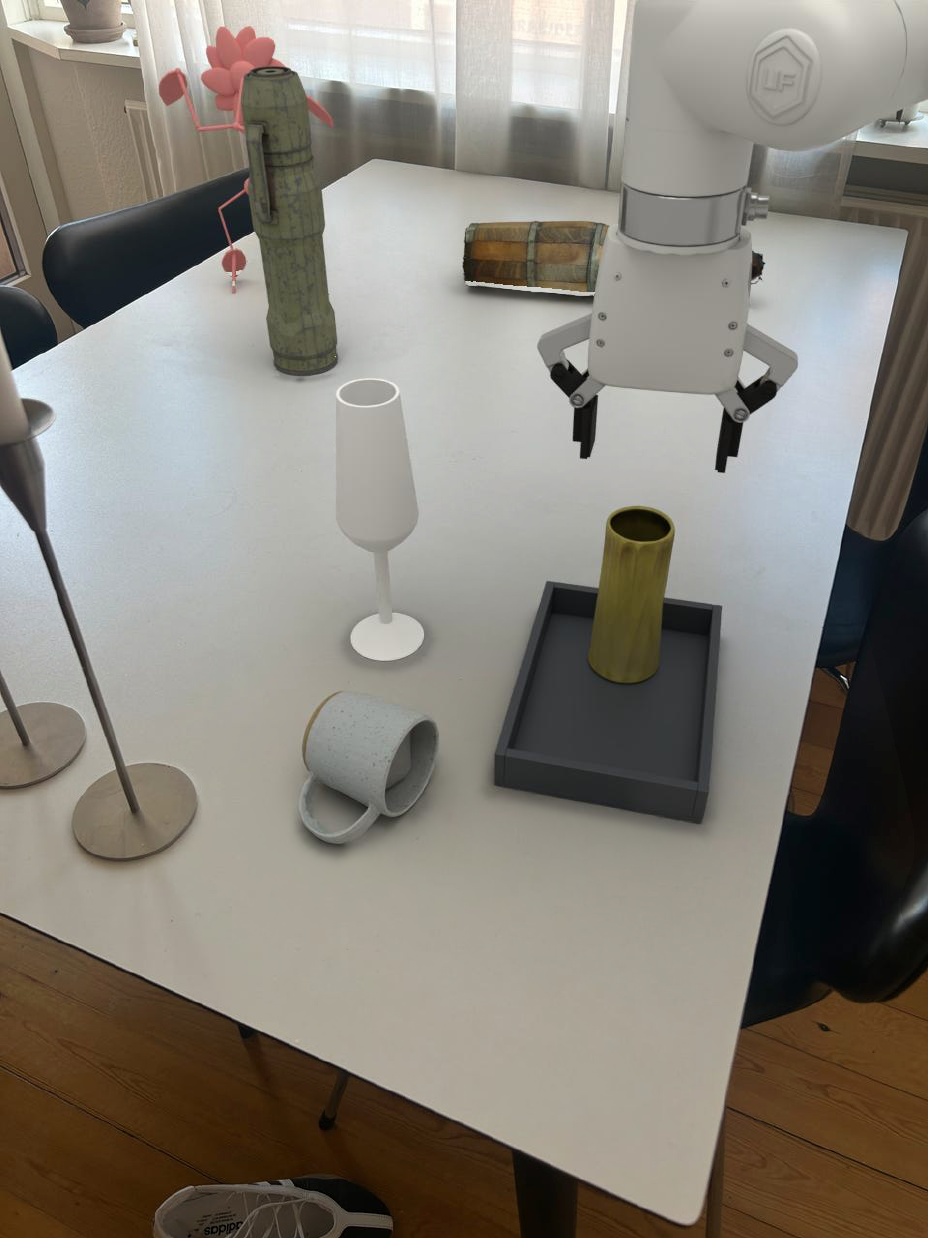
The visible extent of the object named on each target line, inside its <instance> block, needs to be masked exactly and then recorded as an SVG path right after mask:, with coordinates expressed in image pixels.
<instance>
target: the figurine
mask: <svg viewBox="0 0 928 1238" xmlns="http://www.w3.org/2000/svg"><path fill="white" fill-rule="evenodd" d="M275 50H276V43H275V41H274V39H272V38H270V37H268V36H260V37H257V36H256V31H255V28H253V27H252V26H251V25H249V26H244V27H243V28H242V29H241V30H239V32H238V33H237V35H236V36H234V35H233V34H232V33H231V31H230V30H229V29H228V28H227V27H226V26H219V27H218V29H217V31H216V35H215V45H214V46H213V45H209V44H208V45H207V47H206V48H205V55H206V58H207V61H208V64H209V65H210V67H211V68H210V69H207V70H205V71H203V72H202V73H201V75H200V80H201V82H202V84H203V85H204V86H205V87H206V88H207V89H208V90H210V91H211V92H213V93H215V94H216V96H215V98H214V99H215V100H214V101H215V102H214V103H215V106H216V108H217V109H218V110H220V112H221V111H222V112H232V115H233V119H234V122H233V123H229V124H220V125H212V126H200V123H199V120H198V117H197V114H196V112H195V110H194V106H193V103H192V101H191V98H190V96H189V92H188V90H187V89H188V81H187V77H186V76H187V75H186V74H185V73H183V71H182V69H181V68H180V67H176V68H175V69H173V70H170V71H167V73H165V74H164V76H163V77H161V78H160V81H159V83H158V94H159V97H160V98H161V100H162V102H163V103H164V105H165V106H166V107H168V106H170V105H172V104H175V103H176V102H177V101H178V100H180V99H182V97H183V96H184V98H185V101H186V103H187V107H188V109H189V112H190V114H191V118H192V120H193V123H194V126H195V128H196V129H197V130H198V131H197V132H198V133H201V132H209V131H219V130H228V129H233V130H234V131H235V132H238V131H239V132H240V133H241V134H243V135H245V130H244V123H243V116H242V109H241V93H242V86H243V79H244V75H245V74H247V73H249V72H250V70H252V69H254V68H259V67H267V66H282V67H287V66H286V65H285V64H284V63H283V62H282V61H280V60H278V59H276V58H274V57H273V56H274V54H275ZM306 96H307V101H308V111H309V113H312V115H313V116H315V117H316V118H318V119H319V120H320V121H322V122H323V123H324V124H326V125H328V126H329V127H330V128H334V127H335V124H334V121H333V118H332V117H331V115H330V114H329V112H328V111H327V109H325V108H324V107H323V106H322V105H321V104H320V103H319V102H317V101H316V100H315V99H314V98H313V97H311V96H310V95H308V94H307V93H306ZM248 181H249V177H248V178H247V179H246V180H245V181H244V184H243V190H241V191H240V192H238V193H237V194H236V195H234V196H233V197H231V198H230V199H228V200H227V201H226V202H225V203H223V204H222V205H221V206H219V207H218V213H219V216H220V220H221V223H222V226H223V229H224V232H225V235H226V238H227V241H228V244H229V246H230V249H228V250H227V251H225V254H224V255H223V257H222V259H221V266H222V268H223V270H224V272H225V273H226V272H232V276H230V277H231V282H232V281H235V280H237V279H236V278H237V277H238V276H239V275H236V271H239V270H242V271H244V269H245V267H246V265H247V263H246V262H247V258H246V255H245V254H244V252H243V251H242V249H239V248H237V247H235V248H234V247H233V243H232V240H231V236H230V233H229V231H228V228H227V225H226V222H225V219H224V215H223V213H222V209H224V208H225V207H227V206H228V205H229V204H231V203H233V201H235V200H237V198H239V197H240V196H242V195H243V194H247V195H248V196H249V194H248ZM231 292H232V293H236V285H235V286H232V285H231Z"/></svg>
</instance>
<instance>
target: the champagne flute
mask: <svg viewBox="0 0 928 1238" xmlns="http://www.w3.org/2000/svg"><path fill="white" fill-rule="evenodd" d="M400 393H401V392H400V388H399V387H398V385H397V384H396V383H394V382H392V381H390V380H386V379H383V378H377V377H376V378H375V377H368V378H367V377H366V378H359V379H354V380H350V381H347V382H345V383H344V384H342V385H340V387H338V388H337V390H336V392H335V472H336V473H335V485H336V486H335V491H336V492H335V497H336V498H335V500H336V501H335V503H336V504H335V509H336V510H335V511H336V516H335V517H336V519H335V520H336V522H337V525H338V528H339V530H340V531H341V532H342V534H343V535H344V536H345V537H346V538H347V539H348V540H350V542H352V543H353V544H354V545H355V546H357V547H360V548H362V549H364V550H365V551H368V552H370V553H373V561H374V573H375V574H374V575H375V583H376V595H377V607H378V608H377V609H378V613H376V614H373V615H370V616H367V617H365V618H364V619H362V620H360V621H359V622H358V623H357V624H356V625H355V626H354V627H353V629H352V631H351V633H350V638H349V639H350V645H351V646H352V648H353V649H354V650H355V652H356V653H358V654H359V655H361V656H362V657H365V658H367V659H369V660H373V661H381V662H387V661H388V662H389V661H390V662H391V661H396V660H400V659H403V658H406V657H409V656H410V655H412V654H413V653H415V652H416V651H417V650H418V649H419V648H420V647H421V645H422V644H423V642H424V639H425V631H424V628H423V626H422V625H421V623H420V622H419V621H417V619H415V618H413V617H412V616H410V615H408V614H404V613H401V612H400V613H399V612H393V607H392V605H393V604H392V592H391V581H390V579H391V578H390V564H389V552H391V551H393V550H394V549H395V548H396V547H398V546H399V545H400V544H402V543H403V542H404V541H406V540H407V538H409V537H410V535H411V534H412V532H413V531H414V530H415V528H416V526H417V524H418V521H419V515H420V513H419V512H420V511H419V504H418V501H417V500H418V498H417V493H416V487H415V480H414V473H413V468H412V462H411V461H412V460H411V456H410V449H409V442H408V437H407V429H406V423H405V417H404V411H403V405H402V397H401V394H400Z"/></svg>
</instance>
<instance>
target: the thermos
mask: <svg viewBox="0 0 928 1238" xmlns="http://www.w3.org/2000/svg"><path fill="white" fill-rule="evenodd" d="M306 94H307V93H306V91H305V88H304V85H303V83H302V81H301V78H300V76H299V73H298V72H297V71H295V70H293V69H292V68H290V67H288V66H286V67H282V66H267V67H259V68H254V69H252V70H250V72H249V73H247V74H245V75H244V79H243V86H242V93H241V109H242V116H243V123H244V126H243V127H244V130H245V134H244V136H245V137H244V138H245V145H246V152H247V158H248V165H249V176H248V178H249V181H248V194H249V195H248V194H247V195H248V200H249V206H250V207H249V208H250V214H251V220H252V228H253V231H254V233H255V235H256V236H257V238H258V241H259V248H260V255H261V260H262V261H261V263H262V269H263V277H264V283H265V290H266V298H267V305H268V307H267V313H266V317H265V320H266V325H267V334H268V339H269V340H268V341H269V346H270V349H271V350H272V355H273V365H274V367H275V369H276V370H277V371H279V372H281V373H282V374H285V375H289V376H296V377H297V376H298V377H305V376H314V375H320V374H323V373H325V372H328V371H330V370H332V369H333V368H335V366H336V365H337V364H338V363H339V355H338V352H337V351H338V349H337V345H338V332H337V323H336V314H335V313H336V312H335V309H334V307H333V306H332V304H331V301H330V293H329V286H328V276H327V265H326V257H325V246H324V237H323V236H324V232H325V228H326V219H325V210H324V209H325V208H324V197H323V189H322V181H321V179H320V176H319V174H318V171H317V169H316V167H315V161H314V159H315V158H314V155H313V150H312V143H313V140H312V130H311V123H310V111H309V110H308V101H307V96H306ZM335 356H336V357H335Z"/></svg>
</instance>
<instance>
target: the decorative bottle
mask: <svg viewBox="0 0 928 1238" xmlns="http://www.w3.org/2000/svg"><path fill="white" fill-rule="evenodd" d="M609 226H610V225H608V224H606V223H603V222H595V221H589V220H560V221H559V220H557V221H554V220H551V221H544V220H543V221H538V220H533V221H499V222H498V221H497V222H471V223H470V224H468V227H466V228H465V230H464V238H463V243H464V247H463V257H462V260H463V261H462V271H463V273H462V274H463V280H464V282H465V281H471V282H473V281H476V282H485V283H494V284H503V285H513V286H527V287H541V288H552V289H562V290H570V291H579V292H595V288H596V281H597V275H598V270H599V264H600V259H601V254H602V249H603V245H604V241H605V237H606V234H607V230H608V228H609ZM766 264H767V263H766V262H765V261H764V254H762V253H760V252H755V251H754V250H752V276H751V286H752V285H755V284H756V285H757V283H758V282H759V281H763V277H762V276H763V270H764V268H765V265H766ZM756 279H758V280H757V281H755V282H752V281H754V280H756Z"/></svg>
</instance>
